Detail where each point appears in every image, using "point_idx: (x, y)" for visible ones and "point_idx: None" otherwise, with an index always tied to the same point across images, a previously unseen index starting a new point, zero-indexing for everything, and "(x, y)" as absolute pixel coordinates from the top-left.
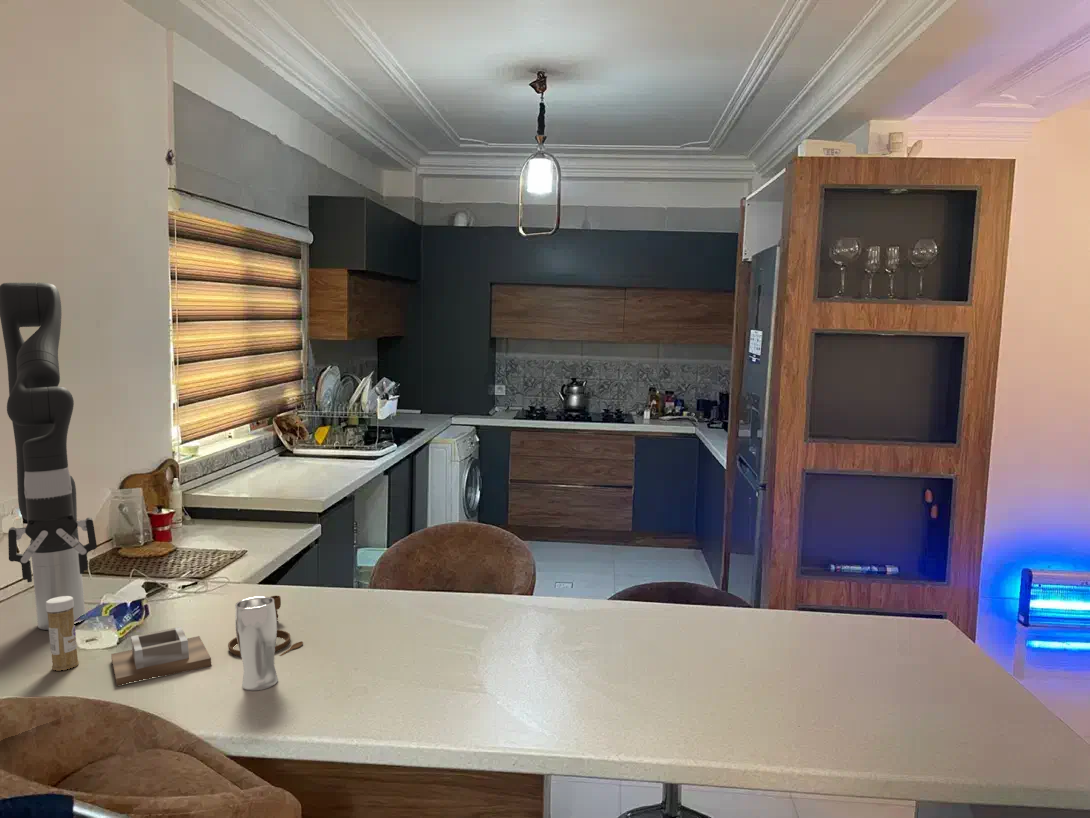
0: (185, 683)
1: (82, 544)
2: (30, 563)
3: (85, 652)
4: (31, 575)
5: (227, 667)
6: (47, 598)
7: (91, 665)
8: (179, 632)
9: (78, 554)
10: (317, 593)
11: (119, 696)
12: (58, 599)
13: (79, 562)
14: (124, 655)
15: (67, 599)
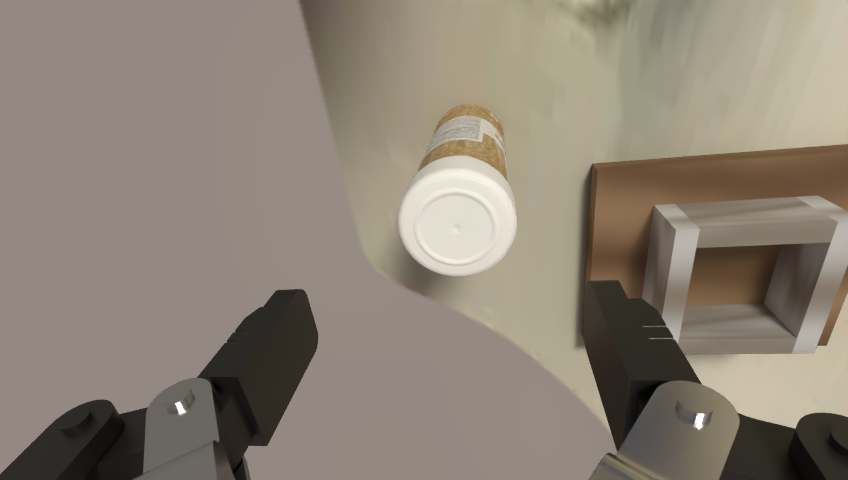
0: (716, 388)
1: (725, 462)
2: (254, 376)
3: (523, 22)
4: (297, 329)
5: (838, 358)
6: None
7: (536, 164)
8: (827, 277)
9: (625, 420)
10: None
11: (580, 378)
12: (451, 229)
13: (606, 405)
14: (630, 206)
15: (492, 253)
